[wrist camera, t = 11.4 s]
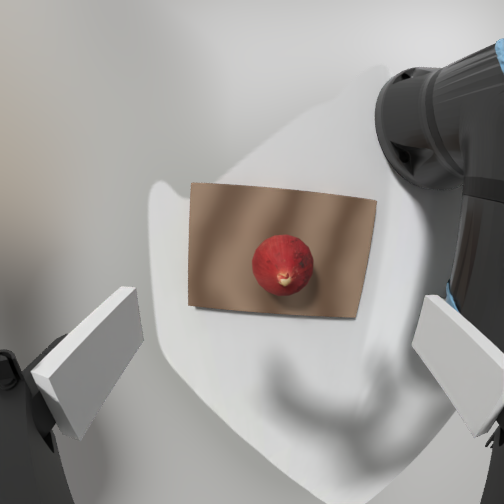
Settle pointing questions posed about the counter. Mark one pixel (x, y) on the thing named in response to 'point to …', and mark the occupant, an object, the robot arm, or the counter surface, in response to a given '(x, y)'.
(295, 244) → the onion
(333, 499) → the counter surface
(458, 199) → the counter surface
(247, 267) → the walnut board
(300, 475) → the counter surface
